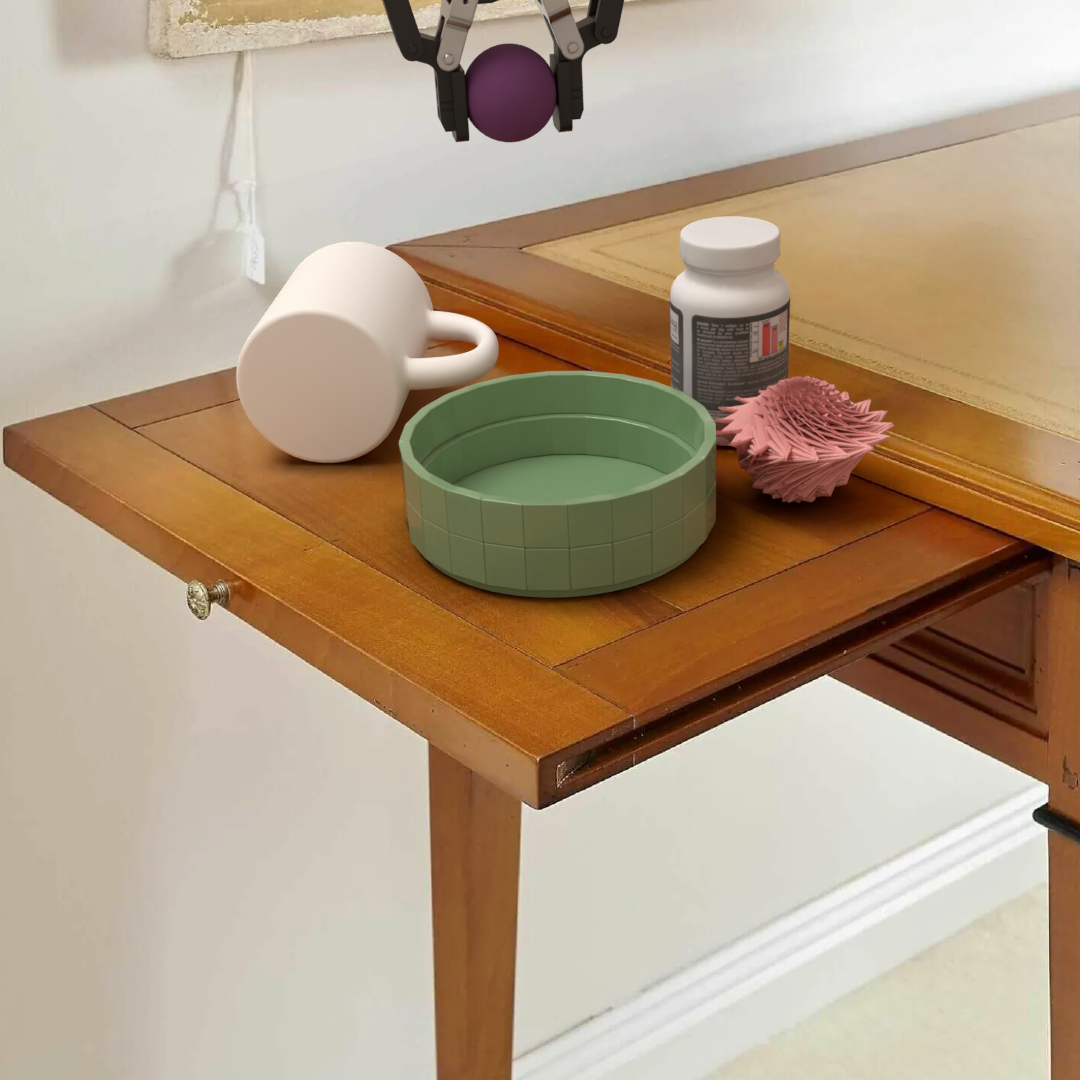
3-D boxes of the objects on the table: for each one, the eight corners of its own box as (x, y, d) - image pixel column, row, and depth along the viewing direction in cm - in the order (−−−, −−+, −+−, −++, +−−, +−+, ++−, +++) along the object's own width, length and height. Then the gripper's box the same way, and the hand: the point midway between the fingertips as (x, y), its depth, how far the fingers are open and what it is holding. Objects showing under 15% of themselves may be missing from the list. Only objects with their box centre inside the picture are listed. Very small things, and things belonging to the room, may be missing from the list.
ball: (550, 124, 89) (545, 30, 87) (567, 148, 85) (562, 49, 82) (459, 133, 88) (452, 39, 86) (472, 157, 84) (465, 59, 82)
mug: (246, 464, 79) (224, 309, 75) (294, 383, 88) (276, 240, 84) (491, 465, 78) (480, 307, 74) (514, 383, 87) (506, 238, 83)
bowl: (672, 443, 79) (671, 356, 77) (753, 578, 67) (755, 481, 65) (393, 476, 77) (385, 388, 75) (427, 621, 66) (418, 522, 63)
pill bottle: (810, 422, 81) (818, 227, 76) (736, 460, 77) (739, 259, 72) (721, 392, 84) (723, 205, 80) (647, 428, 81) (644, 234, 76)
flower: (789, 441, 79) (793, 333, 76) (925, 493, 73) (934, 378, 71) (674, 495, 74) (674, 382, 72) (810, 554, 69) (814, 435, 66)
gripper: (347, -204, 74) (384, 166, 82) (654, -226, 76) (661, 138, 84) (336, -215, 81) (371, 129, 89) (619, -235, 82) (628, 104, 91)
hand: (512, 131), depth 86 cm, fingers closed on ball, 5 cm apart
